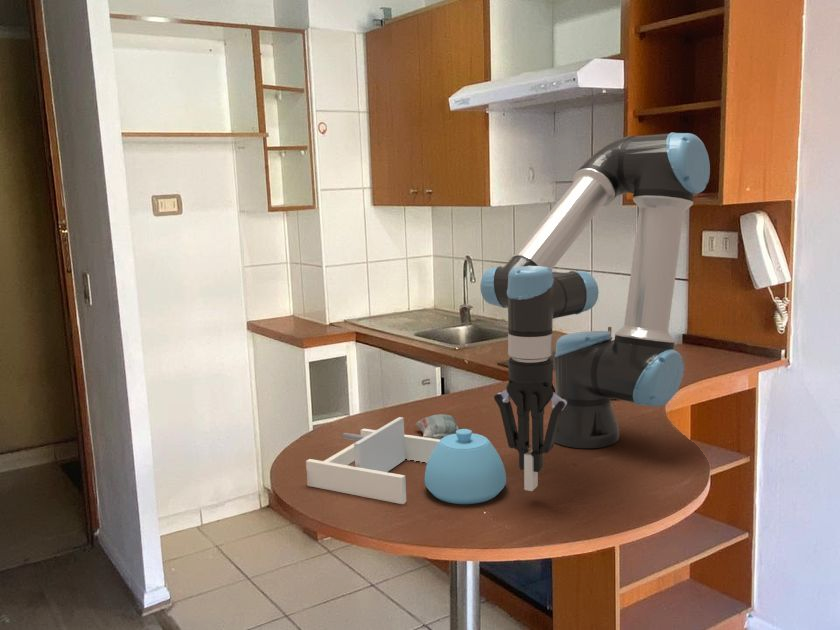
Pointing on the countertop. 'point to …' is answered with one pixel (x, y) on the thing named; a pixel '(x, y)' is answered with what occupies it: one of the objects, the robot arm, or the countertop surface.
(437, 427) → the packaged food
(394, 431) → the pusher
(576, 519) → the countertop surface
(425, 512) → the countertop surface
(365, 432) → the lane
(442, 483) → the sugar bowl
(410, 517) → the countertop surface
